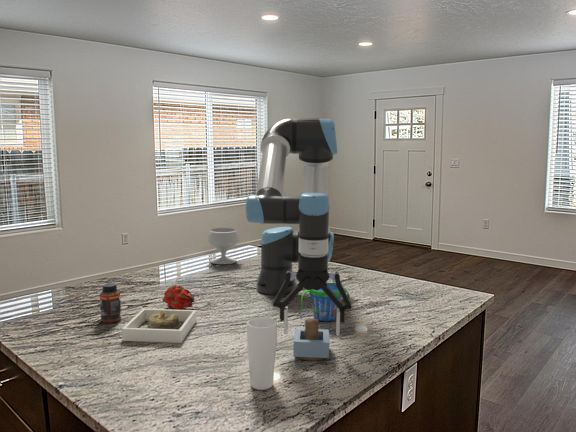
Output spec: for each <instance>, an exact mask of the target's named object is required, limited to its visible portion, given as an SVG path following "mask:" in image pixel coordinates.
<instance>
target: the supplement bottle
mask: <svg viewBox="0 0 576 432" xmlns="http://www.w3.org/2000/svg"><path fill="white" fill-rule="evenodd" d="M99 305H100V306H99V307H100V319H101V322H103V323H106V324H107V323H109V324H111V323H116V322H118V321H120V320H122V300H121V291H120V290H119V289H118V287H117V283H116V282H107V283H104V284H103V285H102V291H101V292H100V293H99Z"/></svg>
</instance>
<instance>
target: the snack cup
mask: <svg viewBox="0 0 576 432" xmlns="http://www.w3.org/2000/svg"><path fill="white" fill-rule="evenodd" d="M326 284H327V285H328V286H329V288H330V289H331V290H332V291H333V292H334V294H335V295H336V296H337V297H338V298H339V300H340V301H341V298H342V296H341V294H340V292H339V290H338V288H337V286H336V282H326ZM344 290H345V292H346V294H347V296H348V298H349V300H350V301H351V295H350V292H348V290H347V289H346V288H345V287H344ZM307 293H309V297H310V300H311V305H312V306H311V307H312V308H311V309H312V315H313V317H314V319H317V320H319V322H330V321H332V322H333V321H336V318H337V308H338V307H337V306H336V305H335V303H334V302H333V301H332V300H331V299H330V298H329V296H328V295H327V294H326V293H325V292H324V291H323V290H322V289H319V290H313V289H312V290H306V289H304V291H303V292H302V294H301V296H300V297H301V298H300V305H301V308H302V309H304V301H303V299H304V296H305V295H306V294H307Z"/></svg>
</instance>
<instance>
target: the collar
mask: <svg viewBox="0 0 576 432" xmlns="http://www.w3.org/2000/svg"><path fill="white" fill-rule="evenodd" d="M329 331H330V330H329V329H326V328H322V329H321V328H319V329H318V340H305V328H297V327H296V328H295V329H294V337H293V357H294V358H297V357H314V358H325V359H329V358H330V332H329Z"/></svg>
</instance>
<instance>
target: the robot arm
mask: <svg viewBox="0 0 576 432" xmlns="http://www.w3.org/2000/svg"><path fill="white" fill-rule="evenodd" d="M336 132H337V131H336V124H335V121H334V120H332V119H329V118H321V117H317V118H315V117H314V118H307V117H306V118H293V117H291V118H290V117H289V118H285V119H282V120H279V121H276V123H274V124H273V125H271V126H270V127H269V128H268V129H267V131H266V132H265V133H264V135H263V136H262V139H261V142H260V152H261V153H262V154H261V155H262V156H261V162H260V167H259V173H258V179H257V186H256V192H255V193H256V194H254V195H249V196H247V197H246V200H245V217H246V220H247V222H248V223H254V224H262V225H264V224H283V225H285V224H287V225H298V229H297V230H298V231H294V229H293V228H292V227H291V226H279V227H277V226H276V227H273V228H269V229H265V230H264V231H263V232H262V234H261V237H260V239H261V241H260V247H261V250H260V252H261V254H260V255H261V257H260V258H261V259H260V263H261V264H260V266H261V267H260V271H259V274H258V277H257V281H256V285H255V286H256V287H255V288H256V289H255V290H256V291H257V292H258V293H262V294H265V295H271V296H275V298H274V300H273V302H272V307H274V308H278V310H279V320H280V322H283V334H284V335H287V334H288V325H289V324H288V318H289V317H288V314H289V310H288V309H289V306H288V305H289V304H290V303H291V302H292V301H293V299H294V298H295V297H297V296H298V294H299V293H300V292H301V291H303V289H304V290H312V289H313V290H319V289H322V290H323V291H324V292H325V293H326V294H327V295H328V296H329V298H330V299H331V300H332V301H333V302H334V303H335V305H336V306H337V307H338V308H337V318H336V319H335V321H336V323H335V326H336V327H335V328H336V329H335V333H336V334H335V335H336V336H337V337H339V336H340V331H341V329H340V327H341V325H340V323H341V324H343V323H344V322H345V313H346V311H347V310H352V307H353V305H352V301H351V299H350V300H349V298H348V296H347V293H346V292H345V290H344V288H345V287H344V286H343V284H342V281H341V277H340V276H341V275H340V272H339V271H335V272H333V273H329V271H328V266H329V262H330V261H331V259H332V254H333V249H334V243H335V242H334V241H335V235H334V232H333V231H331V228H330V226H329V224H330V221H329V220H330V207H331V206H330V198H329V195H328V182H329V181H328V180H329V179H328V178H329V175H328V174H329V163H331V162H332V161H333V159H334V155H337V154H338V147H337V146H338V144H337V134H336ZM289 154H297V155H298V160H299V161H300V162H301V163H302V194H300V196H298V195H297V196H294V195H293V196H290V195H284V184H285V174H286V162H287V157H288V156H289ZM293 263H297V266H298V268H297V272H294V271H293ZM296 279H297V280H296ZM329 280H331V281H332V283H335V284H336V286H337V288H338V290H339V292H340V294H341V298H342V300H343V302H344V303H343V302H342V301H341V299H340V300H339V298H338V297H337V296H336V295H335V294H334V292H333V291H332V290H331V289H330V288H329V286H328V285H327V284H326V283H328V281H329ZM297 281H298V283H297ZM284 295H286V297H284V299H283V300H282V301H281V299H282V298H283V296H284Z"/></svg>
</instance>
